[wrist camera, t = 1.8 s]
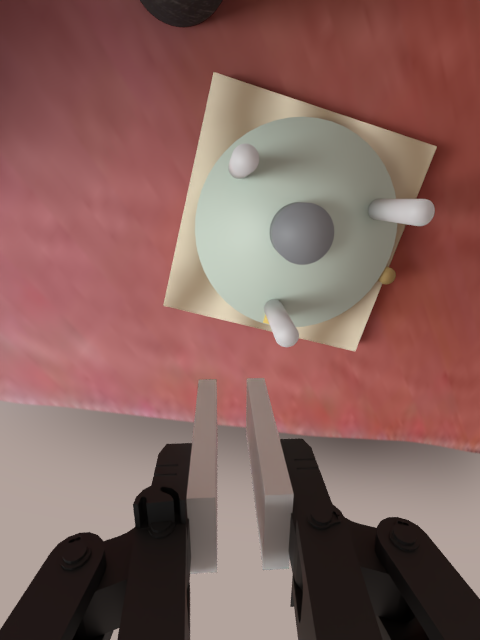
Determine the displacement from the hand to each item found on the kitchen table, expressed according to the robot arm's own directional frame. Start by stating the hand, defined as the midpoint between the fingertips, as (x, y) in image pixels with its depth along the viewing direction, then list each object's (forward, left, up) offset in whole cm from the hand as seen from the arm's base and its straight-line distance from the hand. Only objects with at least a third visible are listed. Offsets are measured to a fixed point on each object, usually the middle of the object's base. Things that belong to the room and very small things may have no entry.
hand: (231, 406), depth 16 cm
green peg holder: (+4, +8, -16) cm, 18 cm away
